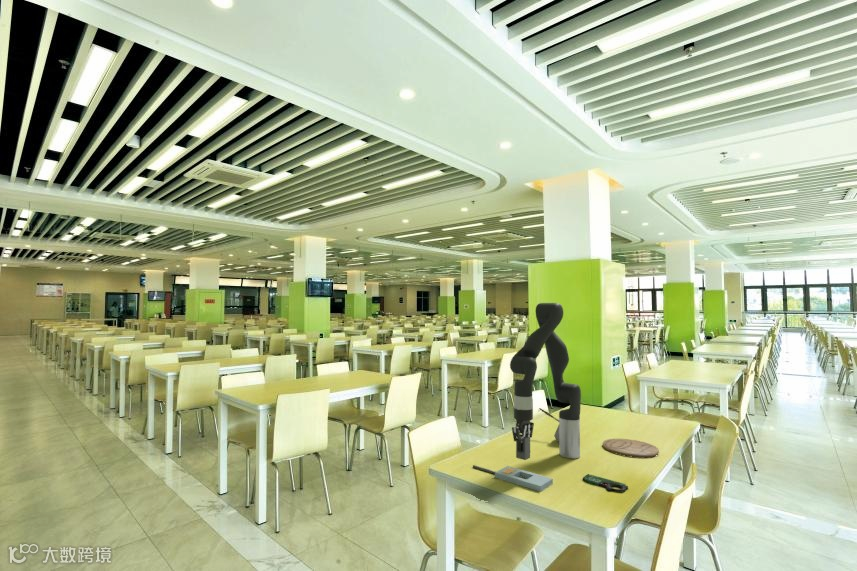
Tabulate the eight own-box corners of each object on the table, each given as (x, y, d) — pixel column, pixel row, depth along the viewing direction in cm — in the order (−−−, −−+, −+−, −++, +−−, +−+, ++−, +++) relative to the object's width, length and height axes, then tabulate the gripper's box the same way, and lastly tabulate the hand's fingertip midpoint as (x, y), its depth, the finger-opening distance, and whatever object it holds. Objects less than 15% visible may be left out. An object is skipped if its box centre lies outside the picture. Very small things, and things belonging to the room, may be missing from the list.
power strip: (482, 463, 187) (482, 458, 187) (552, 483, 165) (552, 478, 165) (468, 469, 179) (468, 463, 179) (540, 491, 157) (540, 485, 157)
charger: (521, 455, 171) (521, 435, 172) (530, 457, 168) (530, 437, 169) (516, 457, 168) (516, 437, 169) (525, 460, 165) (525, 439, 166)
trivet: (664, 449, 210) (664, 445, 210) (651, 462, 191) (651, 458, 191) (611, 439, 226) (611, 435, 226) (595, 450, 207) (595, 446, 207)
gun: (578, 480, 166) (588, 473, 174) (578, 483, 166) (588, 476, 174) (621, 492, 155) (630, 484, 163) (621, 496, 155) (630, 488, 163)
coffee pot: (581, 442, 219) (581, 412, 220) (571, 447, 211) (571, 416, 212) (543, 433, 234) (543, 406, 235) (533, 438, 226) (533, 409, 227)
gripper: (523, 403, 177) (523, 445, 176) (505, 408, 167) (505, 452, 165) (540, 405, 172) (540, 449, 171) (522, 411, 162) (522, 457, 161)
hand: (523, 450), depth 168 cm, fingers closed on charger, 4 cm apart
